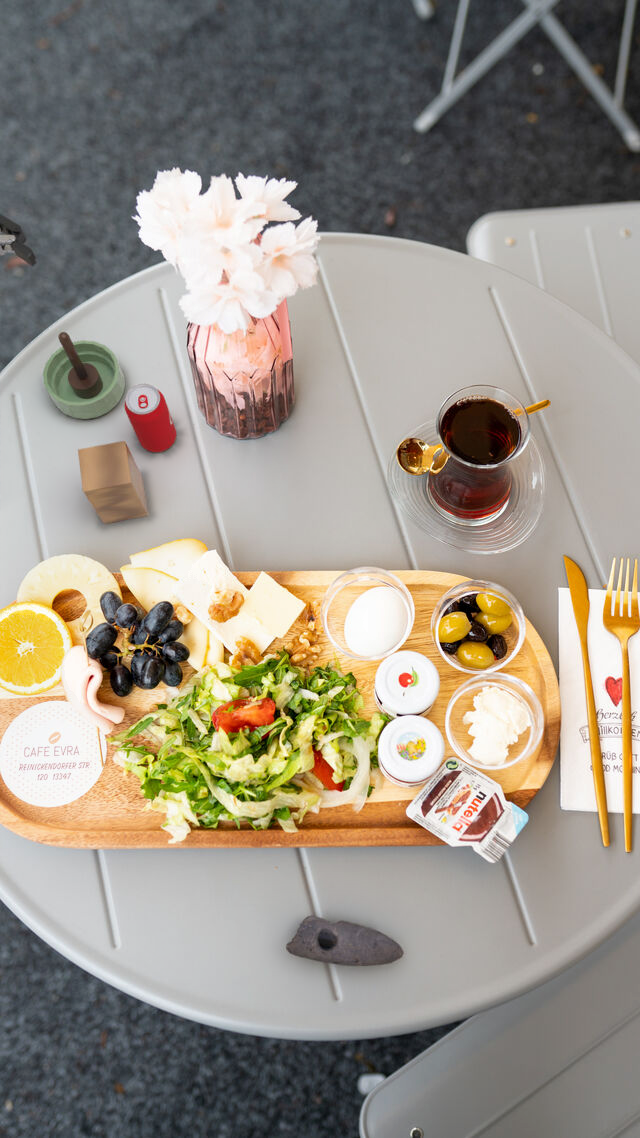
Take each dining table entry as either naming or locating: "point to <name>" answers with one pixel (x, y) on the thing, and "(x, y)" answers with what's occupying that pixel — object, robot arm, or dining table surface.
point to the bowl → (63, 392)
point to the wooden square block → (112, 482)
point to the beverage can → (150, 418)
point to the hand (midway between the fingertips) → (12, 280)
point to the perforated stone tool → (343, 943)
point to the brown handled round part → (81, 372)
